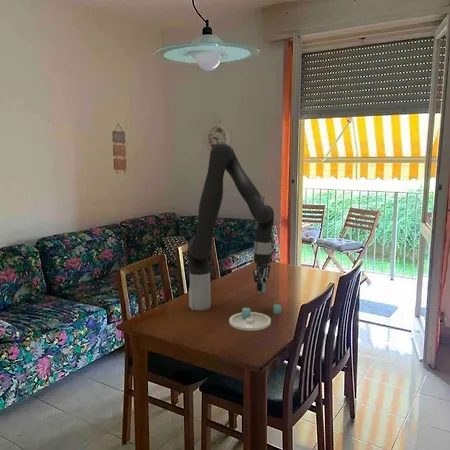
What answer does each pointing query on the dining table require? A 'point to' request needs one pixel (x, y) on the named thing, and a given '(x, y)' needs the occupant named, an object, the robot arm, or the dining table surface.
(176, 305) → the dining table surface
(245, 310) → the bead
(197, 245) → the robot arm
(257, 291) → the bead
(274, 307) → the bead
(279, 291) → the dining table surface
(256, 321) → the groove dish
